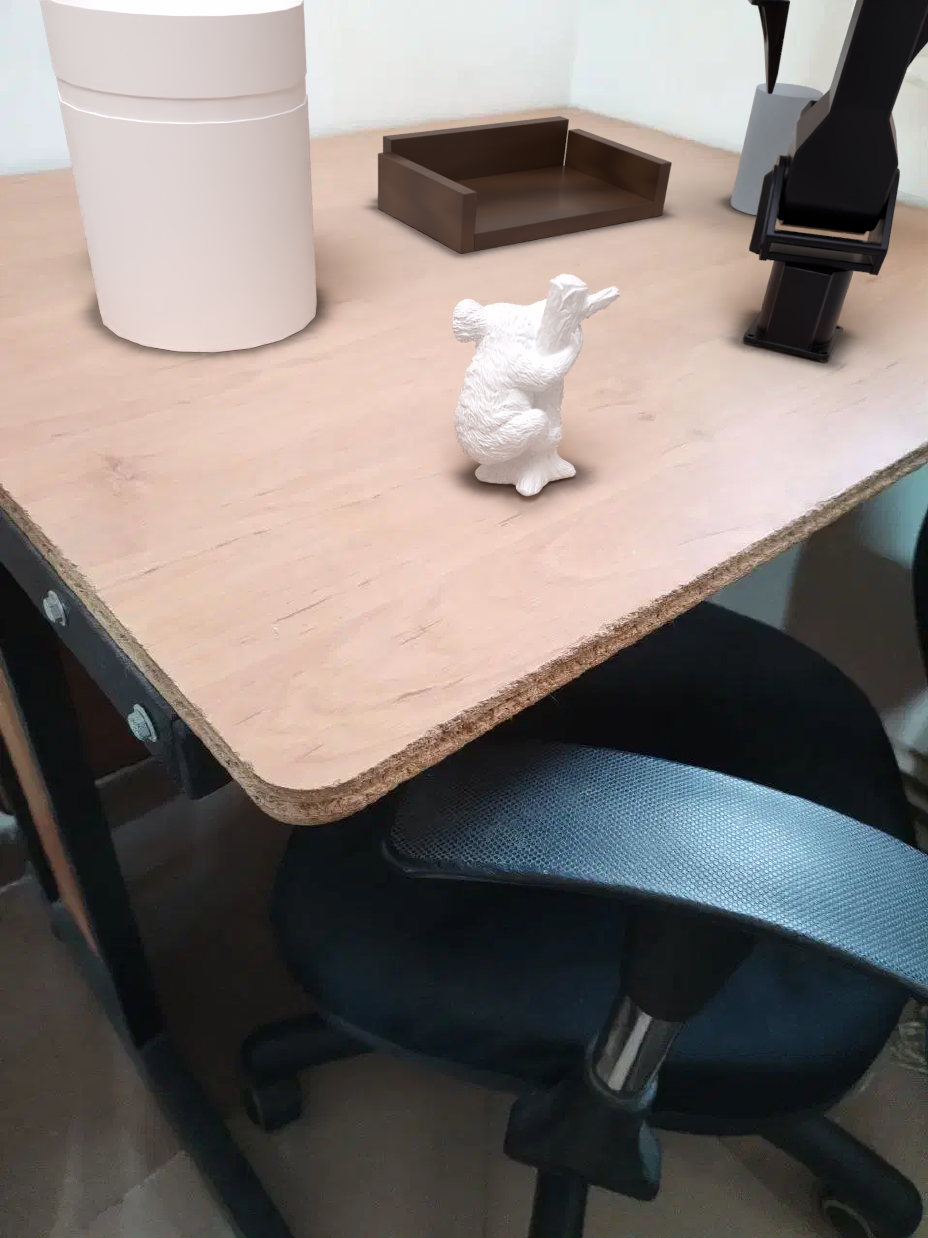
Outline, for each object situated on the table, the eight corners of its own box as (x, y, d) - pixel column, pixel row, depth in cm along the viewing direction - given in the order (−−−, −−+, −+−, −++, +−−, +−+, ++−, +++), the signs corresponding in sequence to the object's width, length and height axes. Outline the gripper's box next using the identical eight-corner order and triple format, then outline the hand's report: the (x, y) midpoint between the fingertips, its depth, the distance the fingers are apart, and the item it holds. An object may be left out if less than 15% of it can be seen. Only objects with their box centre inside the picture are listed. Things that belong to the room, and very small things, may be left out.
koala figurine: (596, 461, 58) (628, 261, 50) (579, 520, 53) (613, 308, 45) (460, 437, 59) (472, 240, 51) (432, 493, 54) (440, 283, 46)
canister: (352, 329, 71) (346, 12, 58) (135, 368, 64) (74, 19, 51) (269, 258, 81) (248, -25, 68) (75, 285, 74) (11, -24, 61)
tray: (662, 215, 96) (674, 150, 92) (460, 253, 84) (464, 181, 80) (563, 174, 106) (570, 114, 102) (369, 203, 94) (369, 137, 90)
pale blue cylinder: (796, 219, 98) (828, 99, 91) (733, 213, 98) (760, 93, 91) (784, 195, 104) (814, 81, 97) (725, 190, 104) (750, 76, 97)
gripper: (981, -130, 77) (911, 87, 87) (748, -148, 78) (706, 69, 88) (1027, -125, 68) (945, 115, 78) (765, -145, 69) (716, 95, 79)
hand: (823, 97), depth 81 cm, fingers open, 9 cm apart
